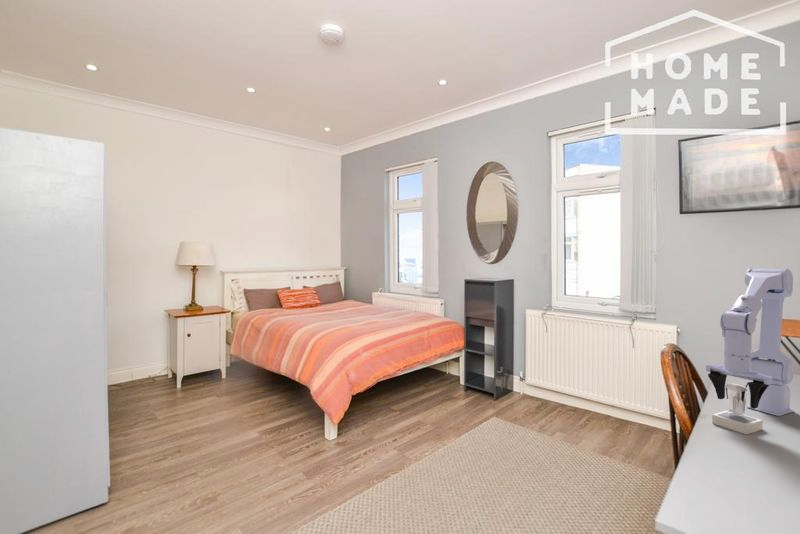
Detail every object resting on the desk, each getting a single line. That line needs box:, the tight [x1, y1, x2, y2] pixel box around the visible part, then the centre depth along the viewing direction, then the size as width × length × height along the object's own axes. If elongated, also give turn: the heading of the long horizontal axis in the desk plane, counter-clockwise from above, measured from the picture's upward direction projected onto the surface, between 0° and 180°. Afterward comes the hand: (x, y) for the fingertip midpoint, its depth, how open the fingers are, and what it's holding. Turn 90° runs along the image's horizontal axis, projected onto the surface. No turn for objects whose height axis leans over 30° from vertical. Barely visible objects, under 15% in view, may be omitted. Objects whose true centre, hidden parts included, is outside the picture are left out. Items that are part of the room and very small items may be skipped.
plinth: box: [711, 409, 764, 435], centre depth 108 cm, size 8×8×3 cm
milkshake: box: [725, 381, 750, 419], centre depth 108 cm, size 4×5×10 cm
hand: (737, 403), depth 108 cm, fingers open, 7 cm apart
